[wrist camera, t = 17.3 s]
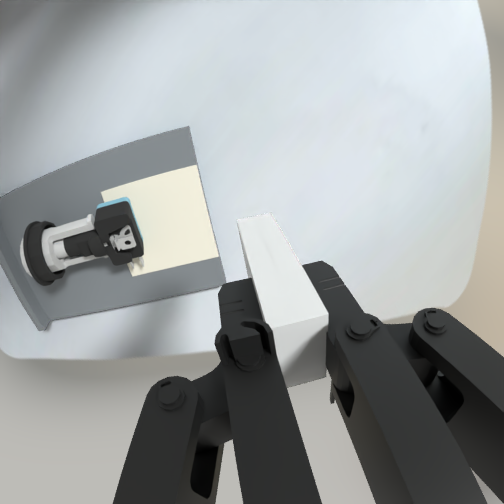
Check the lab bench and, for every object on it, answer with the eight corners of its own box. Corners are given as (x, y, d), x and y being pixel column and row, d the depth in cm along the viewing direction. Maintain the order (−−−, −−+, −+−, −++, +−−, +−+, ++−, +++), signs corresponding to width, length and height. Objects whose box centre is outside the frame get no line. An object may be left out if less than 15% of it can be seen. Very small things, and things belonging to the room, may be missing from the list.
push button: (152, 286, 22) (48, 309, 20) (148, 240, 25) (56, 264, 24) (125, 222, 17) (7, 258, 15) (128, 179, 21) (24, 212, 19)
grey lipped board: (-6, 201, 20) (-22, 211, 17) (189, 126, 21) (187, 127, 18) (47, 314, 26) (38, 331, 24) (225, 277, 27) (228, 294, 25)
